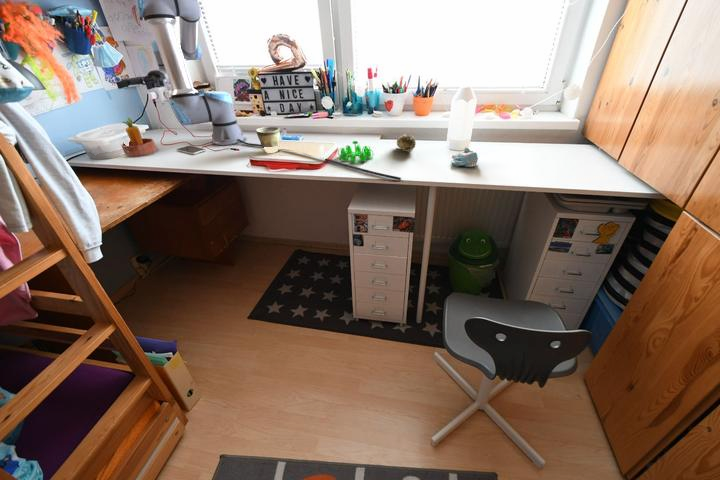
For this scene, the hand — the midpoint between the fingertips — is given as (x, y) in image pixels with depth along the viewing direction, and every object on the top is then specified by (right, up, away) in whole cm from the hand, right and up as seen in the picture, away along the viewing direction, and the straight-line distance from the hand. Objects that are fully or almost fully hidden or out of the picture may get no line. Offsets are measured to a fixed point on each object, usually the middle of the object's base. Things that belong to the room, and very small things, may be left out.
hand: (132, 85), depth 146 cm
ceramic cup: (+63, -29, +3) cm, 69 cm away
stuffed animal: (+144, -40, -20) cm, 150 cm away
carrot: (-1, -28, +7) cm, 29 cm away
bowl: (0, -28, +7) cm, 29 cm away
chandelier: (+101, -35, -10) cm, 108 cm away
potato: (+123, -31, -4) cm, 127 cm away
